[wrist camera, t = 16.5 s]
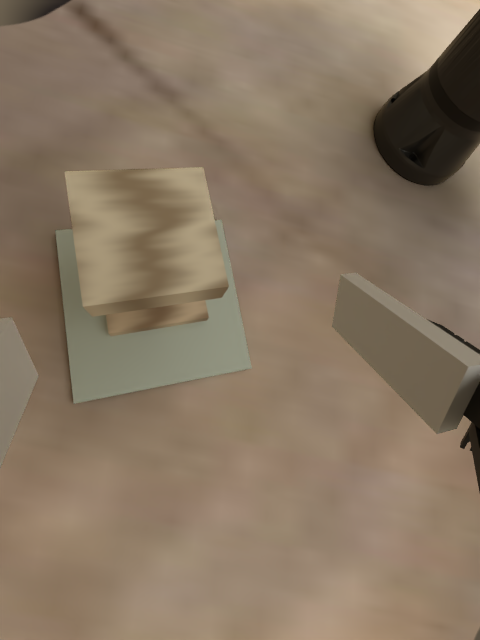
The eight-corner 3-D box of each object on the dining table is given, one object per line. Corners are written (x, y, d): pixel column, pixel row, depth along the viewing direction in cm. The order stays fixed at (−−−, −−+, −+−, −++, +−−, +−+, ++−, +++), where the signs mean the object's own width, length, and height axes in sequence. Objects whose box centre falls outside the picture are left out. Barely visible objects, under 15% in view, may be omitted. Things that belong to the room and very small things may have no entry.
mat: (220, 223, 38) (221, 219, 38) (249, 368, 35) (251, 368, 35) (57, 233, 34) (55, 230, 33) (75, 403, 31) (73, 403, 30)
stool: (203, 167, 25) (229, 286, 23) (190, 237, 36) (206, 320, 35) (64, 171, 22) (82, 306, 21) (97, 245, 34) (110, 336, 32)
